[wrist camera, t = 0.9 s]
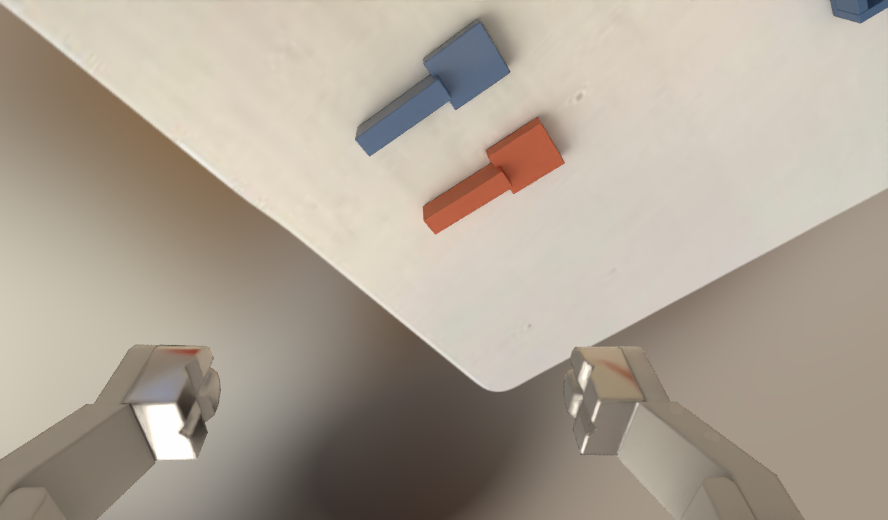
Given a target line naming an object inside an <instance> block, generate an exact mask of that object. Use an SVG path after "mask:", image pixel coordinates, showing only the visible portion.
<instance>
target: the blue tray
mask: <svg viewBox="0 0 888 520" xmlns="http://www.w3.org/2000/svg"><path fill="white" fill-rule="evenodd" d="M831 5H832V10H833V15H834V16H836V17H839V18H843V19H846V20H850V21H853V22H857V23H862V22H864V21H865V20H867V19H869V18H871V17H872V16H874V15H876V14H877V13H879V12H881V11H883V10H884V9H886V8H888V0H831Z"/></svg>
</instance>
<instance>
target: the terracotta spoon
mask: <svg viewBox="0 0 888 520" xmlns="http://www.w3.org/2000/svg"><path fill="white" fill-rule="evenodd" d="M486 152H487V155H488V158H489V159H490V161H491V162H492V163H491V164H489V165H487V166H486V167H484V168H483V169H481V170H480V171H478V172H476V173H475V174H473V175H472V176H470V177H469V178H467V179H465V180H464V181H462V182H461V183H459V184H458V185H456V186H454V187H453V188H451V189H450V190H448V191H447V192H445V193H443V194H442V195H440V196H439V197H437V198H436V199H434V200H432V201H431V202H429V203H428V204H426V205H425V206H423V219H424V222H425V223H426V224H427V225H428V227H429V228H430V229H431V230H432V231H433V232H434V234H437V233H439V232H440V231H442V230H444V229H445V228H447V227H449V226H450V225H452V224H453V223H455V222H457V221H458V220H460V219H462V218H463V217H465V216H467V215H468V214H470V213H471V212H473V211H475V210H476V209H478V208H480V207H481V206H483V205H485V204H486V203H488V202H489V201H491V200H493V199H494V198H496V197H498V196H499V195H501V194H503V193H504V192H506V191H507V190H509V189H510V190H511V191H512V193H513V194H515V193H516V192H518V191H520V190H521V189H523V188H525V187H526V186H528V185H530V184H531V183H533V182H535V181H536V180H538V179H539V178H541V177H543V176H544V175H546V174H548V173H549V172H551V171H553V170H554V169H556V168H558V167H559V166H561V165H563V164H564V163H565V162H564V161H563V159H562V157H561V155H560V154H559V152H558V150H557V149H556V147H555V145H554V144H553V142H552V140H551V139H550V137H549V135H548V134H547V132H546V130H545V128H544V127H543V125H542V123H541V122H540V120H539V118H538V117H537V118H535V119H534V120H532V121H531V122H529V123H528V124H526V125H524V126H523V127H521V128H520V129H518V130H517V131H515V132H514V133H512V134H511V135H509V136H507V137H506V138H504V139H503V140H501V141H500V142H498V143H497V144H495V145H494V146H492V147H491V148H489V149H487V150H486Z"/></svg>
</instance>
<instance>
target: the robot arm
mask: <svg viewBox="0 0 888 520" xmlns="http://www.w3.org/2000/svg"><path fill="white" fill-rule="evenodd" d="M212 361H213V355H212V352H211V349H210V347H207V346H185V345H135V346H133V347H132V348H130V349H129V350H128V352H127V353H126V355H125V356H124V358H123V359H122V361H121V363H120V364H119V366H118V367H117V369H116V370H115V372H114V373H113V375H112V377H111V378H110V380H109V381H108V383H107V384H106V386H105V387H104V389H103V390H102V392H101V394H100V395H99V397H98V398H97V400H96V401H95V403H94V404H86V405H84V406H83V407H81V408H80V409H79V410H77V411H75V412H74V413H72V414H70V415H69V416H67V417H66V418H64V419H63V420H61V421H59V422H58V423H56V424H55V425H53V426H52V427H50V428H49V429H47V430H46V431H44V432H42V433H41V434H39V435H38V436H36V437H35V438H33V439H32V440H30V441H28V442H27V443H25V444H24V445H22V446H21V447H19V448H17V449H16V450H14V451H13V452H11V453H10V454H8V455H7V456H5V457H4V458H2V459H0V520H97V519H98V518H99V516H101V515H102V514H103V513H104V512H105V511H106V510H107V509H108V508H109V507H110V506H111V505H112V504H113V503H114V502H115V501H116V500H118V499H119V498H120V497H121V496H122V495H123V494H124V493H125V492H126V491H127V490H128V489H129V488H130V487H131V486H132V485H133V484H134V483H135V482H136V481H137V480H138V479H139V478H140V477H141V476H143V475H144V474H145V473H146V472H147V471H148V470H149V469H150V468H151V467H152V466H153V465H154V464H155V461H161V460H162V461H163V460H189V459H197V458H198V456H199V453H200V451H201V448H202V446H203V443H204V440H205V438H206V435H207V433H208V432H207V429H206V425H205V422H206V421H208V420H209V419H210V418H211V417H213V416H214V415H215V412H216V410H217V407H218V404H219V398H220V391H221V388H220V379H219V375H218V373H217V372H216V371H215V370H214V369H212V368H211V367H210V366H211V363H212ZM570 361H571V364H572V368H571V369H570V370H569V371H568V372H566V376H565V380H564V399H565V405H566V409H567V412H568V413H569V414H570V415H571V416H572V417H573V418H574V419H575V424H574V427H573V432H574V435H575V438H576V442H577V445H578V448H579V451H580V454H581V455H618V458H619V459H620V461H621V462H622V463H623V464H624V465H625V466H626V467H627V468H628V469H629V470H630V471H631V472H632V473H633V475H634V476H635V477H636V478H637V479H638V480H639V481H640V482H641V483H642V484H643V485H644V486H645V487H646V488H647V490H649V492H650V493H651V494H652V495H653V496H654V497H655V498H656V499H657V500H658V501H659V502H660V504H662V506H663V507H664V508H665V509H666V510H667V511H668V512H669V513H670V514H671V515H672V516H673V517H674V519H675V520H805V519H804V518H803V516H802V515H801V513H800V511H799V510H798V508H797V507H796V505H795V503H794V502H793V500H792V499H791V497H790V496H789V494H788V493H787V491H786V489H785V488H784V486H783V484H782V483H781V481H780V480H779V478H778V477H777V475H776V474H774V473H773V472H772V471H770V470H769V469H768V468H766V467H765V466H764V465H762V464H761V463H759V462H758V461H757V460H755V459H754V458H753V457H751V456H750V455H749V454H747V453H746V452H744V451H743V450H742V449H740V448H739V447H738V446H736V445H735V444H733V443H732V442H731V441H730V440H728V439H727V438H726V437H724V436H723V435H721V434H720V433H719V432H717V431H716V430H715V429H713V428H712V427H711V426H709V425H708V424H706V423H705V422H704V421H702V420H701V419H700V418H698V417H697V416H696V415H694V414H693V413H692V412H690V411H689V410H687V409H686V408H685V407H683V406H682V405H681V404H679V403H678V402H670V400H669V398H668V396H667V394H666V392H665V390H664V388H663V387H662V385H661V383H660V381H659V379H658V377H657V375H656V373H655V371H654V369H653V368H652V365H651V364H650V362H649V360H648V358H647V356H646V354H645V352H644V350H643V349H642V348H640V347H639V346H635V347H575V348H574V349H573V351H572V353H571V357H570Z"/></svg>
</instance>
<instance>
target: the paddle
mask: <svg viewBox="0 0 888 520" xmlns="http://www.w3.org/2000/svg"><path fill="white" fill-rule="evenodd" d="M423 60H424V65H425V67H426V68H427V70H428V71H429V73H430V74H431V75H429V76H428V77H426V78H425V79H424V80H422V81H421V82H420V83H418V84H417V85H415V86H414V87H413V88H411V89H410V90H409V91H407V92H406V93H404V94H403V95H402V96H400V97H399V98H398V99H396V100H395V101H393V102H392V103H391V104H389V105H388V106H387V107H385V108H384V109H382V110H381V111H380V112H378V113H377V114H376V115H374V116H373V117H371V118H370V119H369V120H367V121H366V122H365V123H363V124H362V125H360V126H359V127H358V128H357V133H356V137H355V140H356V141H357V143H358V144H359V145H360V146H361V147H362V148H363V150H364V151H365V152H366V153H367V154H368V156H371V155H373V154H374V153H375V152H377V151H378V150H380V149H381V148H383V147H384V146H385V145H387V144H388V143H390V142H391V141H393V140H394V139H395V138H397V137H398V136H400V135H401V134H403V133H404V132H406V131H407V130H408V129H410V128H411V127H413V126H414V125H416V124H417V123H418V122H420V121H421V120H423V119H424V118H426V117H427V116H428V115H430V114H431V113H433V112H434V111H436V110H437V109H438V108H440V107H441V106H443V105H444V104H446V103H447V102H448V101H450V103H451V104H452V106H453V107H454V109H455V110H457V109H458V108H460V107H461V106H463V105H464V104H465V103H467V102H468V101H470V100H471V99H473V98H474V97H476V96H477V95H479V94H480V93H481V92H483V91H484V90H486V89H487V88H489V87H490V86H492V85H493V84H494V83H496V82H497V81H499V80H500V79H502V78H503V77H505V76H506V75H508V74H509V73H510V70H509V68H508V66H507V65H506V63H505V61H504V60H503V58H502V56H501V55H500V53H499V51H498V50H497V48H496V46H495V45H494V43H493V41H492V40H491V38H490V36H489V34H488V33H487V31H486V29H485V28H484V26H483V24H482V23H481V21H480V19H479V18H478V19H476V20H475V21H474V22H472V23H471V24H470V25H468V26H467V27H466V28H464V29H463V30H462V31H460V32H459V33H458V34H456V35H455V36H454V37H452V38H451V39H450V40H448V41H447V42H445V43H444V44H443V45H441V46H440V47H439V48H437V49H436V50H435V51H433V52H432V53H431V54H429V55H428V56H427V57H425V58H424V59H423Z"/></svg>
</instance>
